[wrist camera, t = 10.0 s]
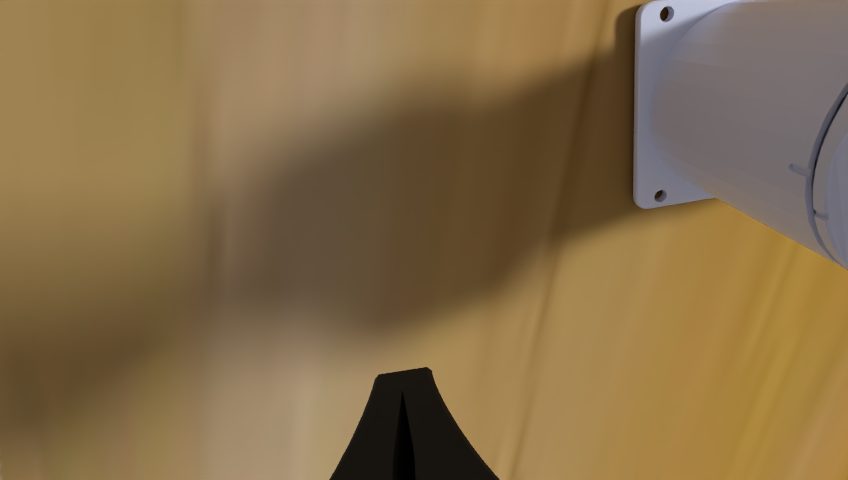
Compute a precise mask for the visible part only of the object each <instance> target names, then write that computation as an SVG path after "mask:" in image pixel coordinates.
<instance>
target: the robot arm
mask: <svg viewBox="0 0 848 480" xmlns="http://www.w3.org/2000/svg"><path fill="white" fill-rule="evenodd" d="M664 7H666V8H667V9H668V11H669V14H668V17H667V18H666V20H665V21H662V20H661V19H660V12H661V10H662V9H663V8H664ZM660 190H662V195H661V196H660V197H659V198H657V199H655V198H654V196H655V194H656V193H657V191H660ZM715 197H716V198H718V199H719V200H721V201H723V202H725V203H727V204H729V205H730V206H732V207H734V208H736V209H738V210H740V211H741V212H743V213H745V214H747V215H749V216H750V217H752V218H754V219H756V220H758V221H760V222H761V223H763V224H765V225H767V226H769V227H770V228H772V229H774V230H776V231H778V232H780V233H781V234H783V235H785V236H787V237H789V238H791V239H792V240H794V241H796V242H798V243H800V244H801V245H803V246H805V247H807V248H809V249H811V250H812V251H814V252H816V253H818V254H820V255H821V256H823V257H825V258H827V259H829V260H831V261H832V262H834V263H836V264H838V265H840V266H841V267H843V268H845V269H847V270H848V0H655V1H649V2H647V3H644V4H643V5H642V6H641V7H639V9H638V11H637V13H636V18H635V91H634V172H633V199H634V202H635V203H636V205H638V206H639V207H641V208H643V209H650V208H656V207H662V206H668V205H674V204H680V203H686V202H692V201H698V200H703V199H709V198H715ZM329 480H499V478H498V477H497V476H496V475H495V474H494V473H493V472H492V470H491V469H490V468H489V467H488V466H487V465H486V463H485V462H484V461H483V460H482V458H481V457H480V456H479V455H478V453H477V452H476V451H475V449H474V448H473V447H472V445H471V444H470V443H469V441H468V440H467V438H466V437H465V436H464V434H463V433H462V431H461V430H460V428H459V427H458V425H457V423H456V422H455V420H454V418H453V417H452V415H451V413H450V412H449V410H448V408H447V407H446V405H445V403H444V401H443V399H442V397H441V395H440V393H439V391H438V389H437V386H436V384H435V381H434V378H433V375H432V370H430V369H429V368H427V367H424V368H418V369H411V370H405V371H399V372H392V373H386V374H379V375H378V376H377V377H376V379H375V381H374V385H373V388H372V391H371V394H370V397H369V400H368V402H367V405H366V407H365V410H364V412H363V415H362V417H361V419H360V422H359V424H358V426H357V428H356V430H355V433H354V435H353V437H352V439H351V441H350V443H349V445H348V447H347V449H346V451H345V453H344V454H343V456H342V458H341V460H340V462H339V464H338V466H337V468H336V469H335V471H334V473H333V474H332V476H331V478H330V479H329Z"/></svg>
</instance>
